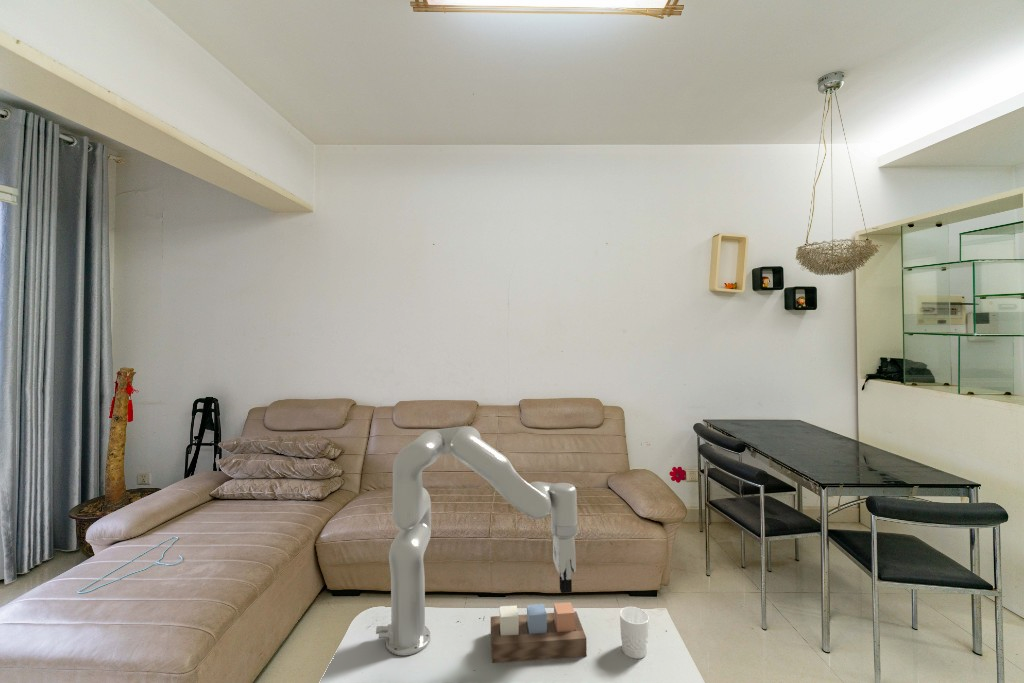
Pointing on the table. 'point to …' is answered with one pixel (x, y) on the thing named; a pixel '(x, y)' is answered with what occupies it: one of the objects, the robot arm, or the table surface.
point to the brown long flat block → (537, 642)
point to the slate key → (536, 619)
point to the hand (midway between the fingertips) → (565, 591)
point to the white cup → (634, 631)
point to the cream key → (509, 620)
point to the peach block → (564, 617)
